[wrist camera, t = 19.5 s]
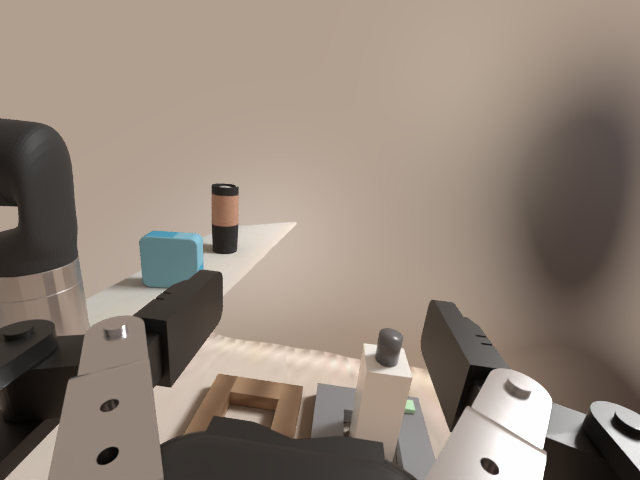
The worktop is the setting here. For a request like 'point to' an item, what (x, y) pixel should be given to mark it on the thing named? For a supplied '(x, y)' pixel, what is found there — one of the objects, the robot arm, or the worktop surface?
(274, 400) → the brown square frame
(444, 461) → the robot arm
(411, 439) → the port plate
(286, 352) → the worktop surface
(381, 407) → the plug
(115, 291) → the worktop surface
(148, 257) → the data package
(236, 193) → the travel mug
